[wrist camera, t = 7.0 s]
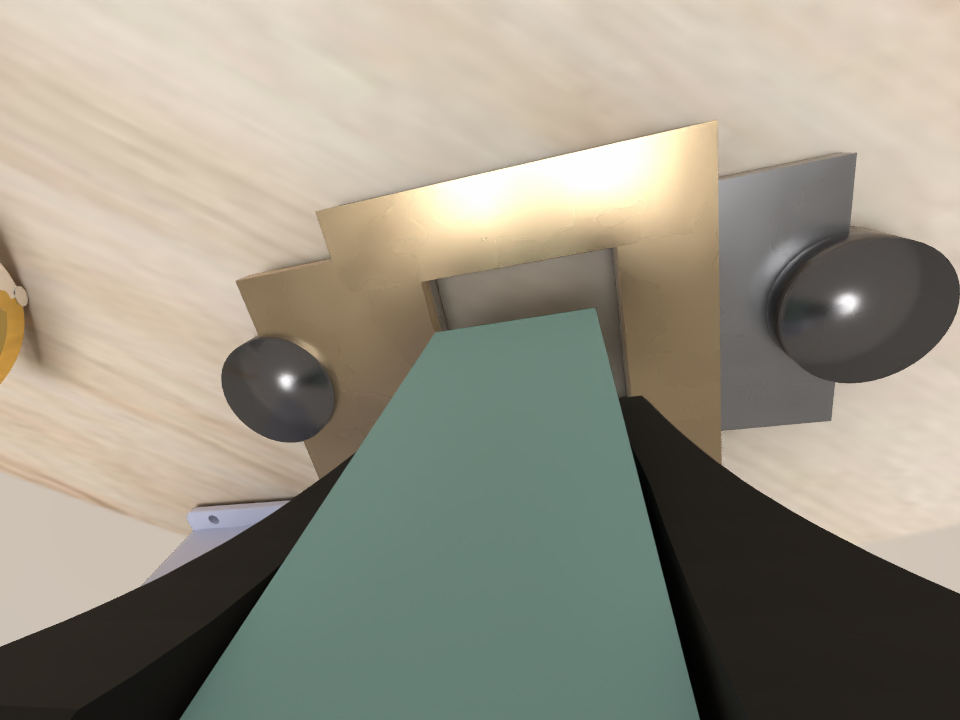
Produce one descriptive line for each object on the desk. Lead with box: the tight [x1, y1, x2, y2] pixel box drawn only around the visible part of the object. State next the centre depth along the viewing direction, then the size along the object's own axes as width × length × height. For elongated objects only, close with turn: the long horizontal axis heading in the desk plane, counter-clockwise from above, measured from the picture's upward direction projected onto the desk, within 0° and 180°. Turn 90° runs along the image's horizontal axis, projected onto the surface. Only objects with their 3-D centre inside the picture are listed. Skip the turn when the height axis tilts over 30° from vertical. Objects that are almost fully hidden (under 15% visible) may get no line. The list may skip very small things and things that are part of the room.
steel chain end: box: [332, 122, 960, 431], centre depth 14 cm, size 16×11×2 cm, turn 102°
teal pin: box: [180, 308, 700, 720], centre depth 8 cm, size 4×4×9 cm
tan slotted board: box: [222, 120, 721, 479], centre depth 16 cm, size 16×11×2 cm, turn 102°
